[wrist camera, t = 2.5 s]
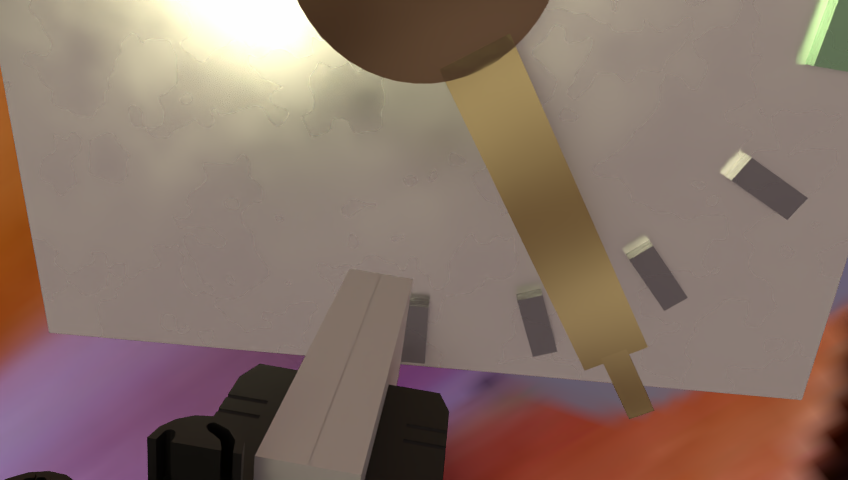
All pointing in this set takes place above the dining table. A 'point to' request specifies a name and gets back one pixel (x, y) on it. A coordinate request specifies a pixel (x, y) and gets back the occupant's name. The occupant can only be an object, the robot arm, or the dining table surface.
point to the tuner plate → (436, 182)
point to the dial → (504, 151)
